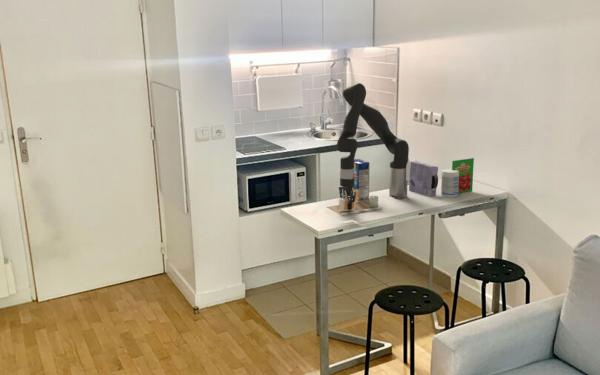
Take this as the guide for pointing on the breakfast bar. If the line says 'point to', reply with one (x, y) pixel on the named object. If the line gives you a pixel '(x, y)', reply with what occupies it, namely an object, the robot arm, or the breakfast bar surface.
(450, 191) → the supplement tub
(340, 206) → the cream block
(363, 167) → the beverage box
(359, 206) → the board
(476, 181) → the breakfast bar surface
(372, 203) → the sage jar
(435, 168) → the cake pan box
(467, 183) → the tomato puree packet
